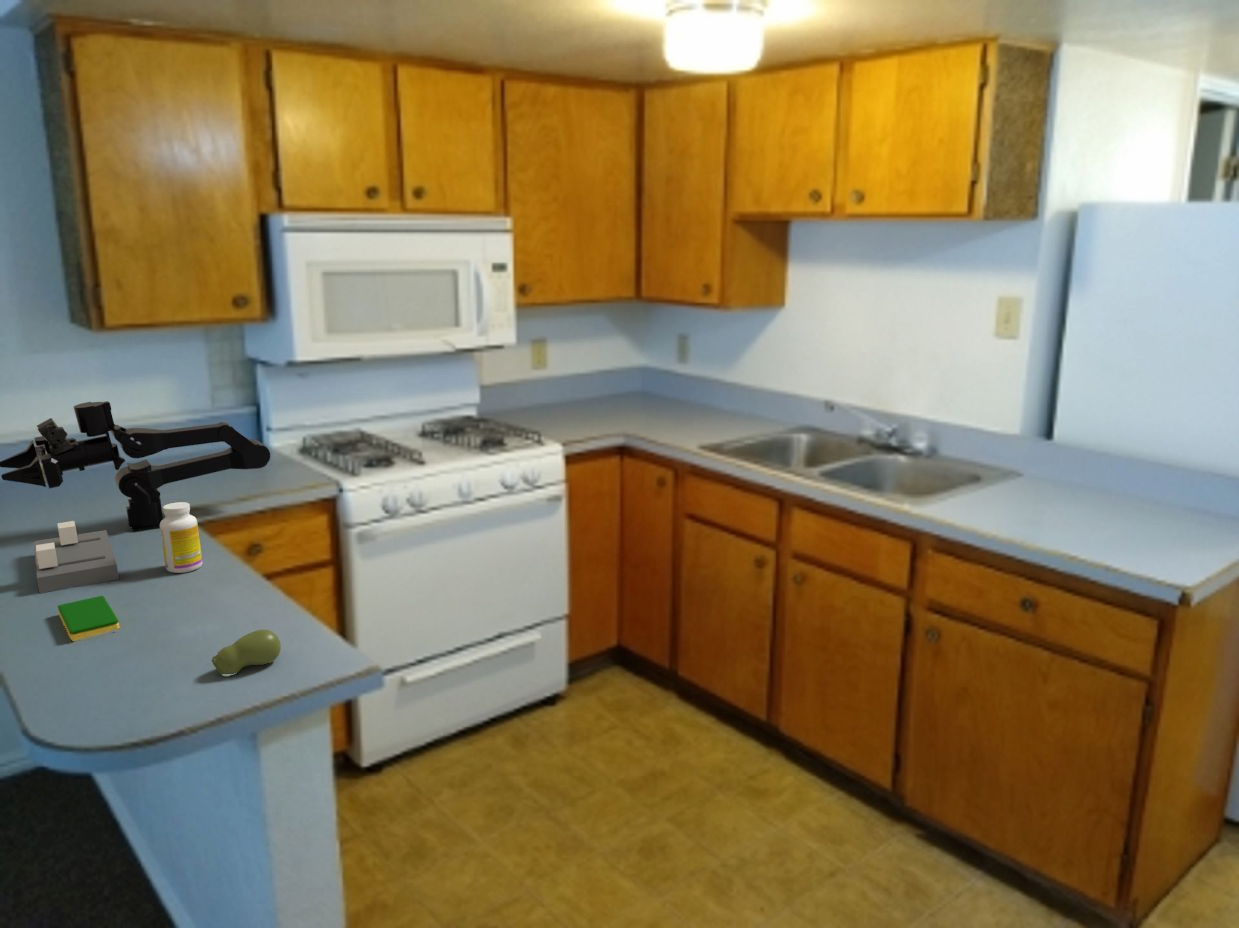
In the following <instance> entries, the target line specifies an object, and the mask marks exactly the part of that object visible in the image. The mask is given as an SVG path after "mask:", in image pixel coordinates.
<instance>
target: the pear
mask: <svg viewBox="0 0 1239 928" xmlns="http://www.w3.org/2000/svg"><path fill="white" fill-rule="evenodd" d="M281 650H282V644H281V640H280V638H279V637H278V635H277V634H276V633H275V632H274V631H272V630H270V629H258V630H255V631H251V632H248V633H247V634H245V635H243V636H241V637H240V638H238V639H237V640H236V641H235V642H234V643H233V644H231V645H228V646H227V645H226V646H225V647H223V648H221V649H220V650H219V651H218V652H217V654H216V655H215V656H212V658H211V662H212V664H213V666H214V667H215V669H216V671H217V672H218V673H219V674H220V675H221V674H234V673H236V672H238V673H239V672H240V670H242V668H244V667H246V666H247V667H248V666H264V664H266V665H268V664H267V663H269V664H272V663H273V662H275V660H277V658H278V657H279V656H280V653H281Z"/></svg>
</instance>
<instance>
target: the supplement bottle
mask: <svg viewBox="0 0 1239 928" xmlns="http://www.w3.org/2000/svg"><path fill="white" fill-rule="evenodd" d="M190 510H191V506H190V503H189V502H186V501H185V502H184V501H183V502H181V501H179V502H171V503H168V504H165V505H163V507H162V514H163V515H164V516H165V517H163V520H162V521H161V523H160V527H159V529H160V537H161V543H162V544H161V545H162V551H163V557H164V558H163V559H164V566H165V569H166V571H168V572H169V573H174V574H183V573H191V572H193V571H195V570H198V569H200V568H201V567H202V566H203V556H202V555H203V554H202V546H201V541H200V533H199V524H198V519H197V518H196V517H195V516H194V515H192V514H190Z"/></svg>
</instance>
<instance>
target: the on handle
mask: <svg viewBox="0 0 1239 928" xmlns="http://www.w3.org/2000/svg"><path fill="white" fill-rule="evenodd" d="M36 553H37V559H38V565H39V569H43V568H49V567H55V566H58V563H57V557H56V551H55V545H54V542H53V543H46V544H40V545H36Z"/></svg>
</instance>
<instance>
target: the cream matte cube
mask: <svg viewBox="0 0 1239 928" xmlns="http://www.w3.org/2000/svg"><path fill="white" fill-rule="evenodd" d="M57 529H58V536H59V537H60V542H61V545H66V544H73V543H78V539H77V535H78V533H77V528H76V522H75V520H70V521H65V522H58V523H57Z"/></svg>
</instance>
